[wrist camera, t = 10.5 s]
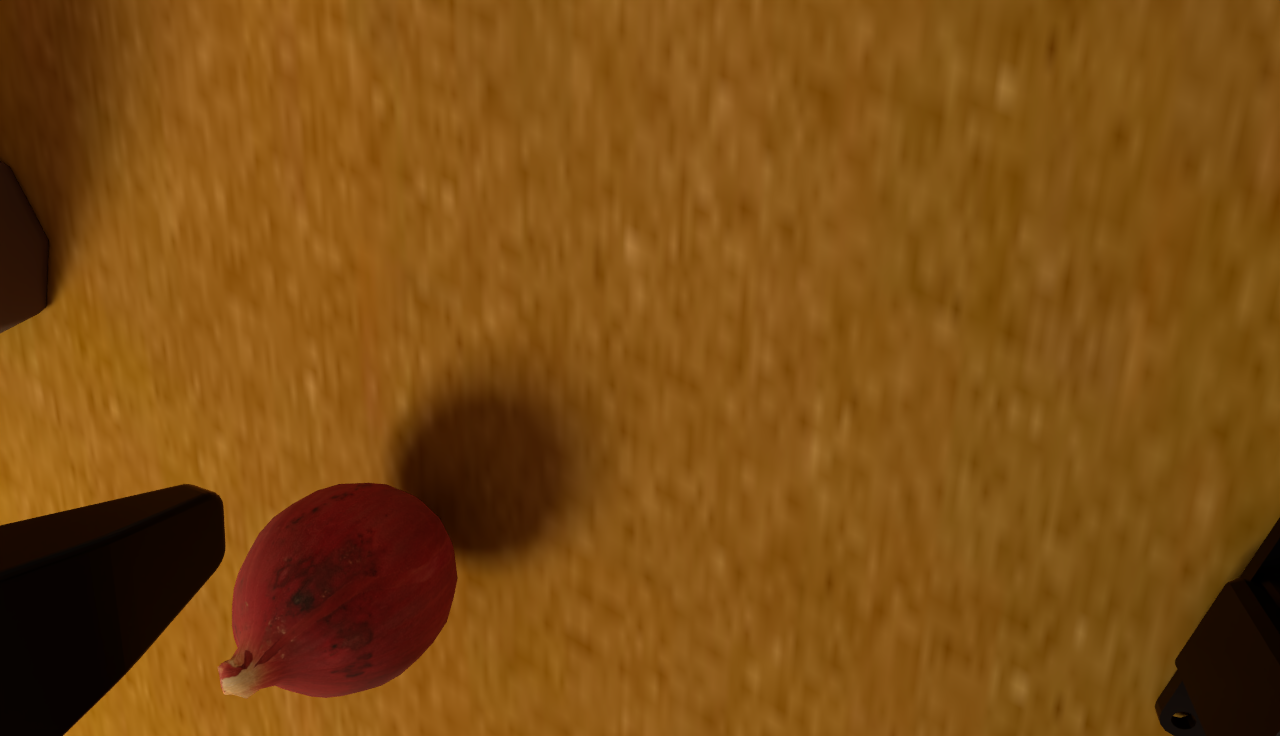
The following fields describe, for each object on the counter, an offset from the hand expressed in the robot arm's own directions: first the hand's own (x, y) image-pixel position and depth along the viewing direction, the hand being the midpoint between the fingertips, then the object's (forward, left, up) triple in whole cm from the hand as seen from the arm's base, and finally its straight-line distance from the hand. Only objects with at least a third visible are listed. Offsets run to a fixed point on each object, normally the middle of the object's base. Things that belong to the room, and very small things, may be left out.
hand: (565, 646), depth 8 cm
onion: (+9, +10, -13) cm, 19 cm away
